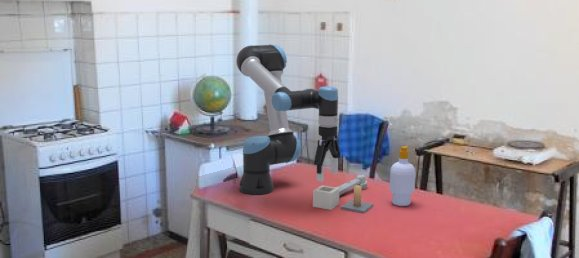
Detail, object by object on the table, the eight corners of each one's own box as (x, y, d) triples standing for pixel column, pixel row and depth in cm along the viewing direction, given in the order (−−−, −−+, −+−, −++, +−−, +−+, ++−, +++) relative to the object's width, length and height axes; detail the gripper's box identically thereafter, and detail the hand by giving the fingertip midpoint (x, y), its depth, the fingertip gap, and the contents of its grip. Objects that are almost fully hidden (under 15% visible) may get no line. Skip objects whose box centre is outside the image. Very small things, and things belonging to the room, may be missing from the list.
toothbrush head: (325, 189, 253) (359, 170, 270) (326, 203, 255) (360, 184, 272) (335, 192, 250) (369, 172, 267) (336, 206, 252) (370, 186, 269)
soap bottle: (418, 203, 247) (421, 147, 242) (405, 209, 240) (408, 151, 235) (397, 198, 254) (400, 143, 249) (383, 203, 247) (386, 147, 242)
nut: (312, 206, 242) (313, 190, 241) (321, 201, 249) (321, 185, 248) (330, 209, 238) (331, 193, 237) (338, 204, 245) (339, 188, 244)
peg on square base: (340, 209, 240) (341, 187, 238) (350, 202, 248) (351, 181, 246) (363, 213, 235) (364, 191, 233) (373, 206, 244) (373, 185, 242)
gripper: (323, 131, 225) (322, 185, 228) (349, 121, 246) (347, 171, 250) (305, 129, 228) (304, 183, 232) (332, 120, 250) (331, 169, 254)
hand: (327, 177), depth 241 cm, fingers open, 13 cm apart
